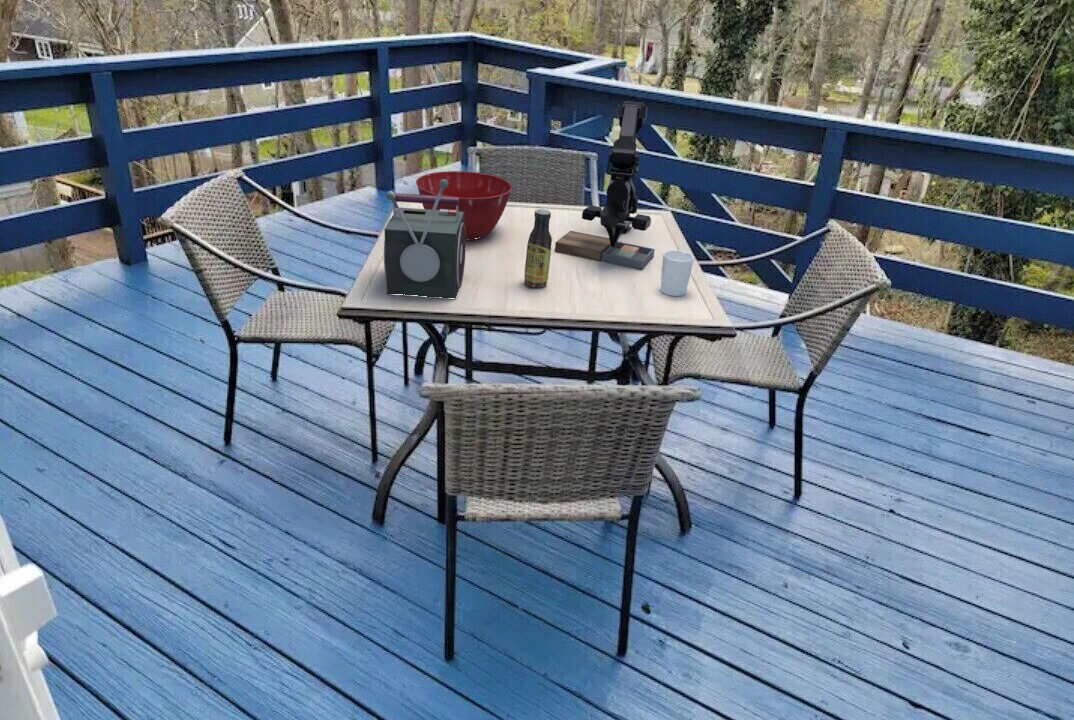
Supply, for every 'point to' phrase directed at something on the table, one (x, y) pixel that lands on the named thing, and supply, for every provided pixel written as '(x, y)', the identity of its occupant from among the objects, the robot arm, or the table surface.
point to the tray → (637, 263)
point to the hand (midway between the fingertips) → (613, 246)
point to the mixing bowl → (470, 197)
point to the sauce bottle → (538, 251)
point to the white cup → (676, 272)
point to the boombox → (424, 246)
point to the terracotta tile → (630, 249)
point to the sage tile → (626, 254)
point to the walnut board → (582, 245)
